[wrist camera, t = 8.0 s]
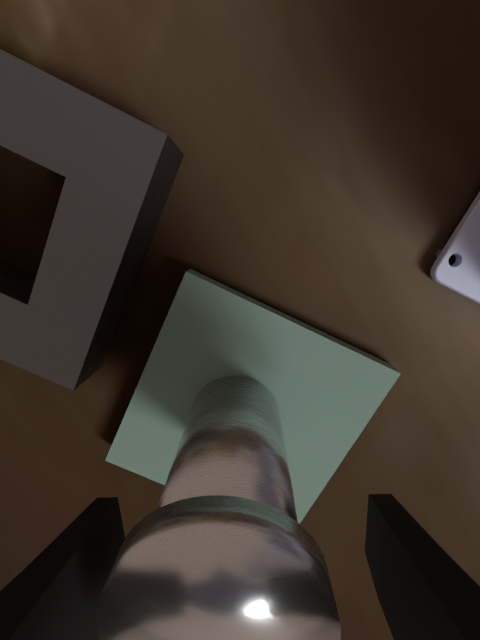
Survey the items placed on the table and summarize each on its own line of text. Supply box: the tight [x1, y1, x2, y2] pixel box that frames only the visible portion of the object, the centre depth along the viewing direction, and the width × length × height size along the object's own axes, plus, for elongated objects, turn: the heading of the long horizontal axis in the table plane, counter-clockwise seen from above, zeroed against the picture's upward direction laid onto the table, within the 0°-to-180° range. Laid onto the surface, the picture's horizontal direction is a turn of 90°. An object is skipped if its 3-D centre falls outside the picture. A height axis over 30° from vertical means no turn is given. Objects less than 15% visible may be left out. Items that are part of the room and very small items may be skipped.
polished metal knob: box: [96, 376, 341, 640], centre depth 10 cm, size 5×5×8 cm
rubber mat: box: [105, 269, 401, 524], centre depth 15 cm, size 10×10×1 cm
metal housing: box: [0, 49, 184, 391], centre depth 12 cm, size 10×10×2 cm
